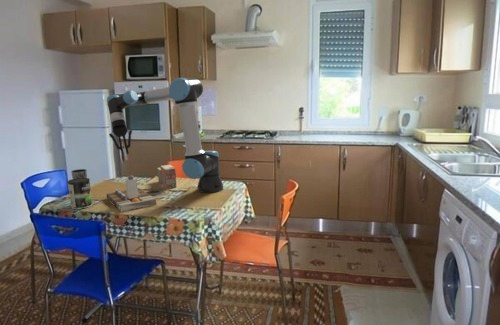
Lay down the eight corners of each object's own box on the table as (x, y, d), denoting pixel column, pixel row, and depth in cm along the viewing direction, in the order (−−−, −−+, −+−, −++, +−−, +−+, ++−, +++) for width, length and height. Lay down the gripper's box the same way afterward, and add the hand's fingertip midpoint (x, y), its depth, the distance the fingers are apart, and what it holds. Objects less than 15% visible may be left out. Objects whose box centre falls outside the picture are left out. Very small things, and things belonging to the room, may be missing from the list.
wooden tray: (106, 198, 204) (106, 191, 203) (138, 192, 214) (138, 185, 213) (121, 211, 182) (120, 203, 181) (156, 204, 192) (155, 196, 191)
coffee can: (96, 203, 196) (93, 177, 194) (84, 209, 187) (81, 182, 184) (79, 202, 199) (76, 177, 196) (66, 208, 189) (63, 182, 186)
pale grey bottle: (127, 197, 194) (125, 176, 192) (136, 195, 197) (134, 174, 194) (128, 199, 191) (126, 177, 189) (138, 197, 194) (136, 175, 192)
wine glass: (92, 195, 211) (89, 170, 208) (78, 199, 206) (74, 172, 203) (86, 193, 217) (83, 168, 214) (72, 196, 211) (68, 170, 208)
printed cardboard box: (158, 181, 240) (156, 163, 238) (167, 180, 243) (166, 162, 240) (166, 189, 221) (165, 169, 219) (176, 187, 224) (175, 167, 222)
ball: (140, 202, 193) (141, 198, 191) (137, 208, 191) (138, 204, 188) (133, 199, 193) (134, 195, 190) (130, 205, 190) (131, 201, 187)
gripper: (130, 121, 220) (138, 159, 216) (107, 125, 216) (115, 163, 212) (129, 117, 213) (138, 155, 209) (105, 120, 209) (114, 160, 205)
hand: (126, 159), depth 210 cm, fingers closed
